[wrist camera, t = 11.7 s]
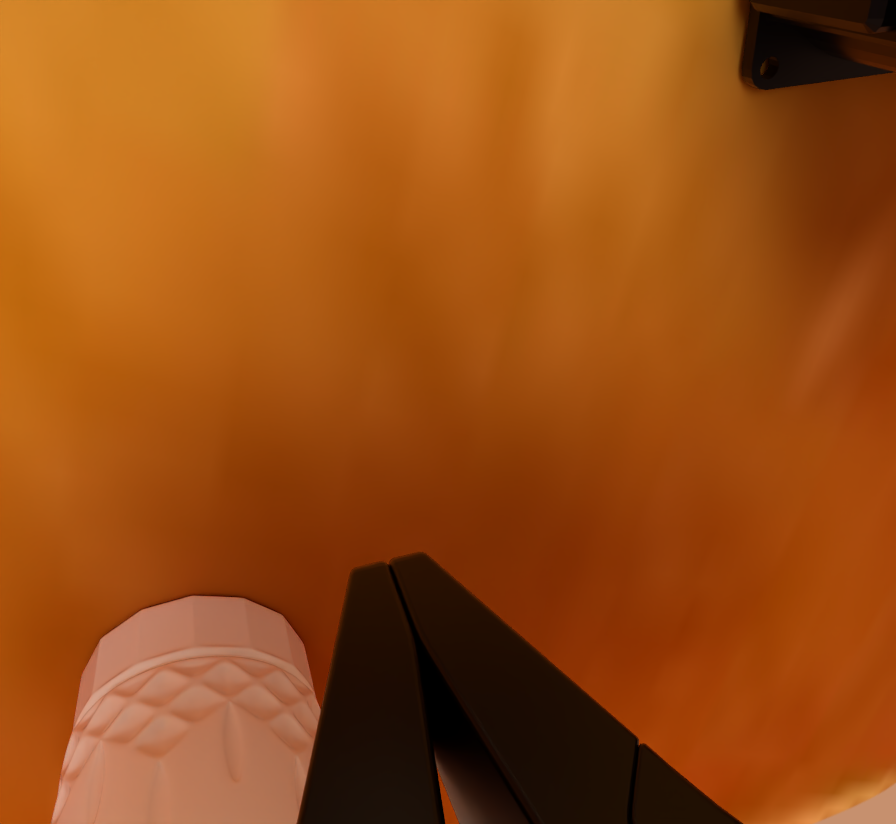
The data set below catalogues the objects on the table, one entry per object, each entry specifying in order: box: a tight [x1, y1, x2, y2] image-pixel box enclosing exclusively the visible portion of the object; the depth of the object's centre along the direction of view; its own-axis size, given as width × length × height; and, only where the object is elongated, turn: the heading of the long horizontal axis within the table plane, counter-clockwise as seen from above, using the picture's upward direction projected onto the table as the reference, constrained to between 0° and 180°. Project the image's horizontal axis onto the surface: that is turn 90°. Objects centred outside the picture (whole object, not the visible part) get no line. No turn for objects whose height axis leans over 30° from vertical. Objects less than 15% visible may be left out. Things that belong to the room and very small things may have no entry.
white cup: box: [51, 596, 321, 824], centre depth 22 cm, size 8×8×10 cm
